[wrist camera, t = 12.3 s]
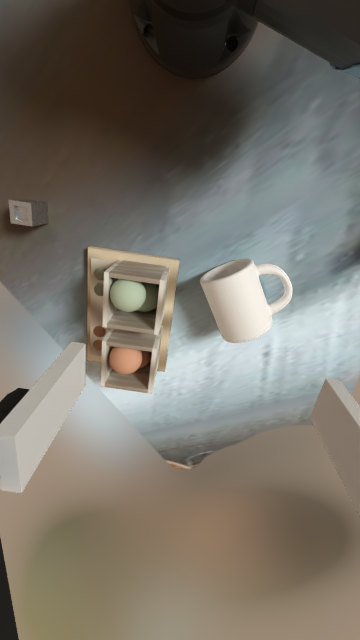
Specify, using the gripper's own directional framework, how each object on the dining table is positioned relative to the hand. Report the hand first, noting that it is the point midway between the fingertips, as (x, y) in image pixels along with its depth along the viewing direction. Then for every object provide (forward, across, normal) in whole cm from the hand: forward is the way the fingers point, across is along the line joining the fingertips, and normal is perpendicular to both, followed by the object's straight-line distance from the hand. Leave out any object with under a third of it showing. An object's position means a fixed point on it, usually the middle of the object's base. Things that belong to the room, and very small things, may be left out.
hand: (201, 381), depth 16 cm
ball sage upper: (+24, -9, -4) cm, 26 cm away
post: (+32, -25, +4) cm, 41 cm away
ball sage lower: (+28, -8, -6) cm, 30 cm away
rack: (+32, -10, -10) cm, 35 cm away
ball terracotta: (+24, -9, -14) cm, 29 cm away
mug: (+32, +8, -3) cm, 33 cm away
